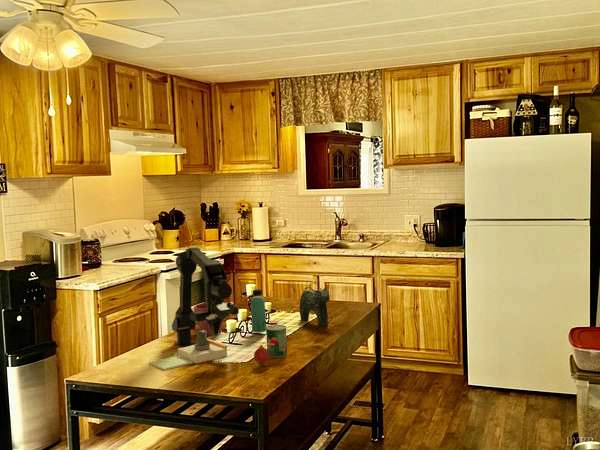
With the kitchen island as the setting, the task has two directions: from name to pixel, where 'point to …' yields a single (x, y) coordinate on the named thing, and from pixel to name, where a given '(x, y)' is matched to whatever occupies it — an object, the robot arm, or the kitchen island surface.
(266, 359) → the onion
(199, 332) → the plug
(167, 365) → the pale green mat
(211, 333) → the plant pot
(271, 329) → the canned tomato
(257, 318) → the beverage bottle
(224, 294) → the robot arm
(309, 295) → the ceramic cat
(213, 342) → the lever
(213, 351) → the socket block
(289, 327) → the kitchen island surface
